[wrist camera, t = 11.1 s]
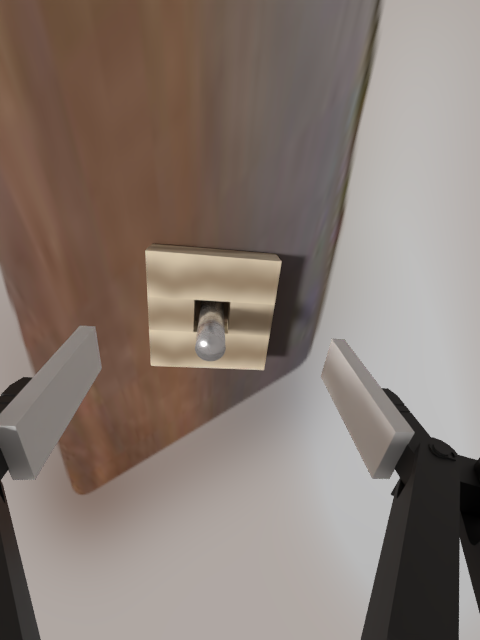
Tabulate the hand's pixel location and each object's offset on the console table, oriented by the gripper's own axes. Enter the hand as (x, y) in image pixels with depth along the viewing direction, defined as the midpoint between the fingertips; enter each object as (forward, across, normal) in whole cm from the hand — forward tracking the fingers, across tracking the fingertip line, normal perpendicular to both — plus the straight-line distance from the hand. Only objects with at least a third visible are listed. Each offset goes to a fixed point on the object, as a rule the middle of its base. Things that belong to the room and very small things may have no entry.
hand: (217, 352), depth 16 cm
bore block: (+23, 0, -8) cm, 25 cm away
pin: (+23, 0, -8) cm, 24 cm away
